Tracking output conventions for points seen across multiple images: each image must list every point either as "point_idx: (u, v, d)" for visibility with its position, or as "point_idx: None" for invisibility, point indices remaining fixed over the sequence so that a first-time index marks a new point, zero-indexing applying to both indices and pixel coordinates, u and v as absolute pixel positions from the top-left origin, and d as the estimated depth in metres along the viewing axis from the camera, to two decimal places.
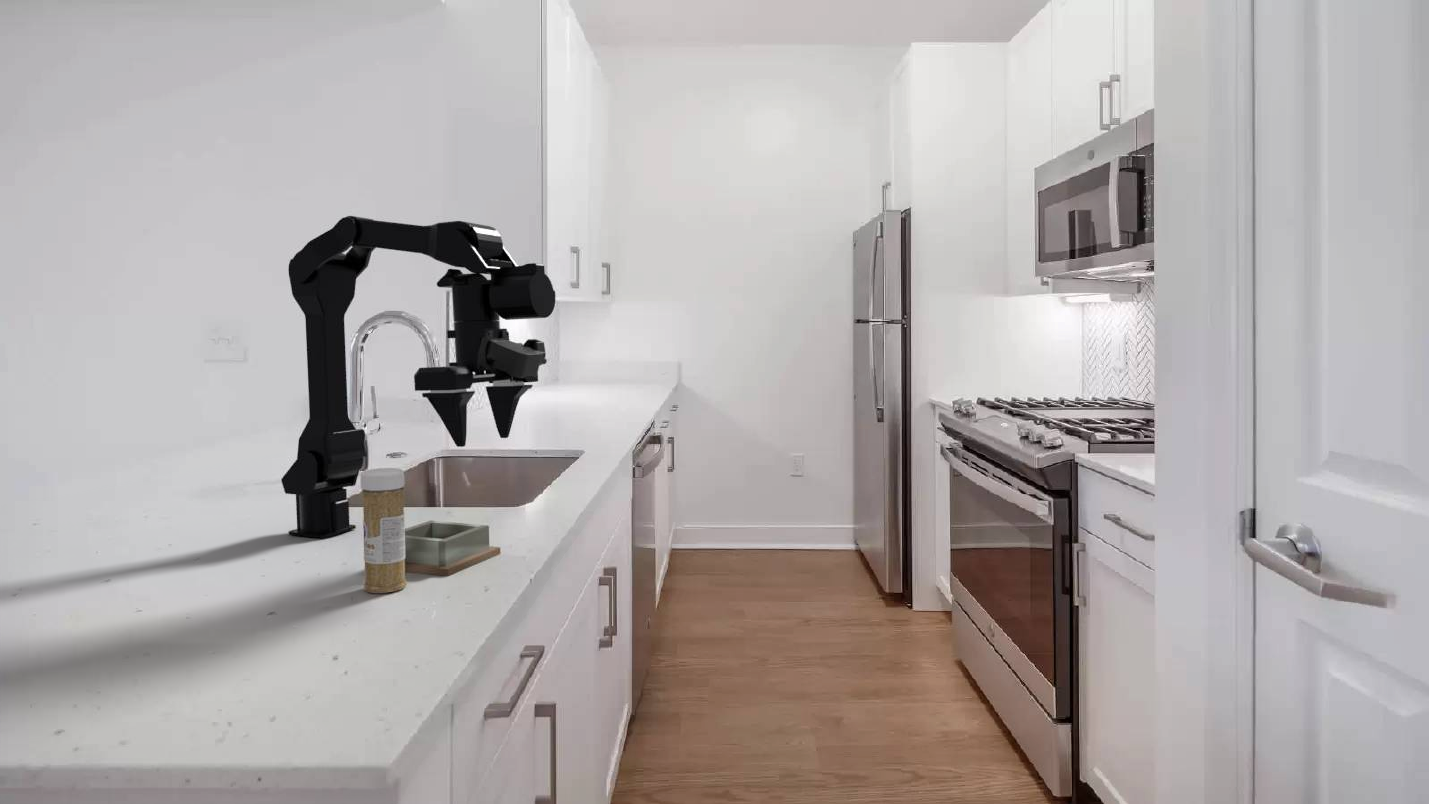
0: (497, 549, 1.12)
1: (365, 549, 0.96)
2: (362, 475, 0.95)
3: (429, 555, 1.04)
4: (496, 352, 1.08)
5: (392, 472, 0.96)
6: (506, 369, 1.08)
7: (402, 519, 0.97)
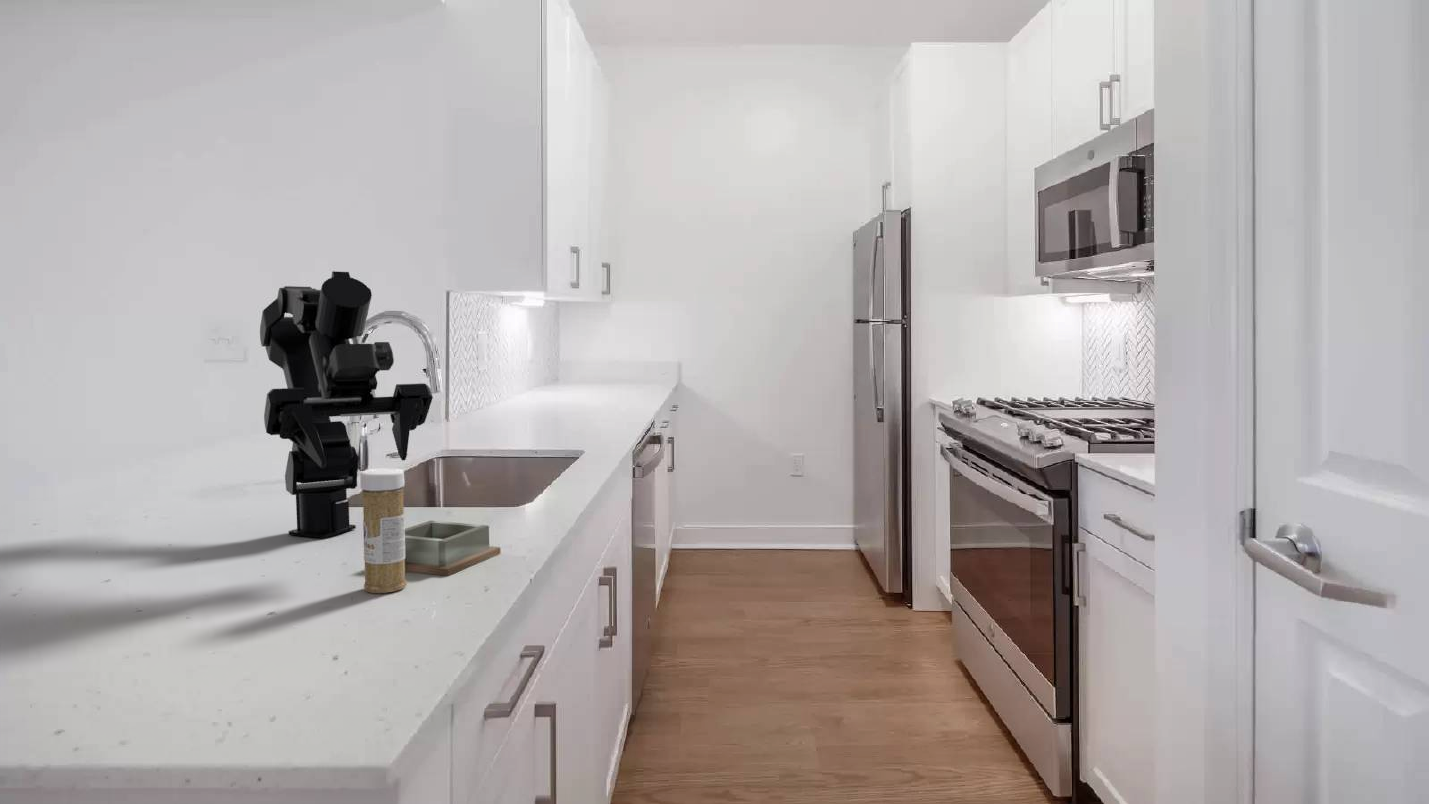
0: (497, 549, 1.12)
1: (365, 549, 0.96)
2: (362, 475, 0.95)
3: (429, 555, 1.04)
4: (330, 364, 1.05)
5: (392, 472, 0.96)
6: (335, 370, 1.03)
7: (402, 519, 0.97)
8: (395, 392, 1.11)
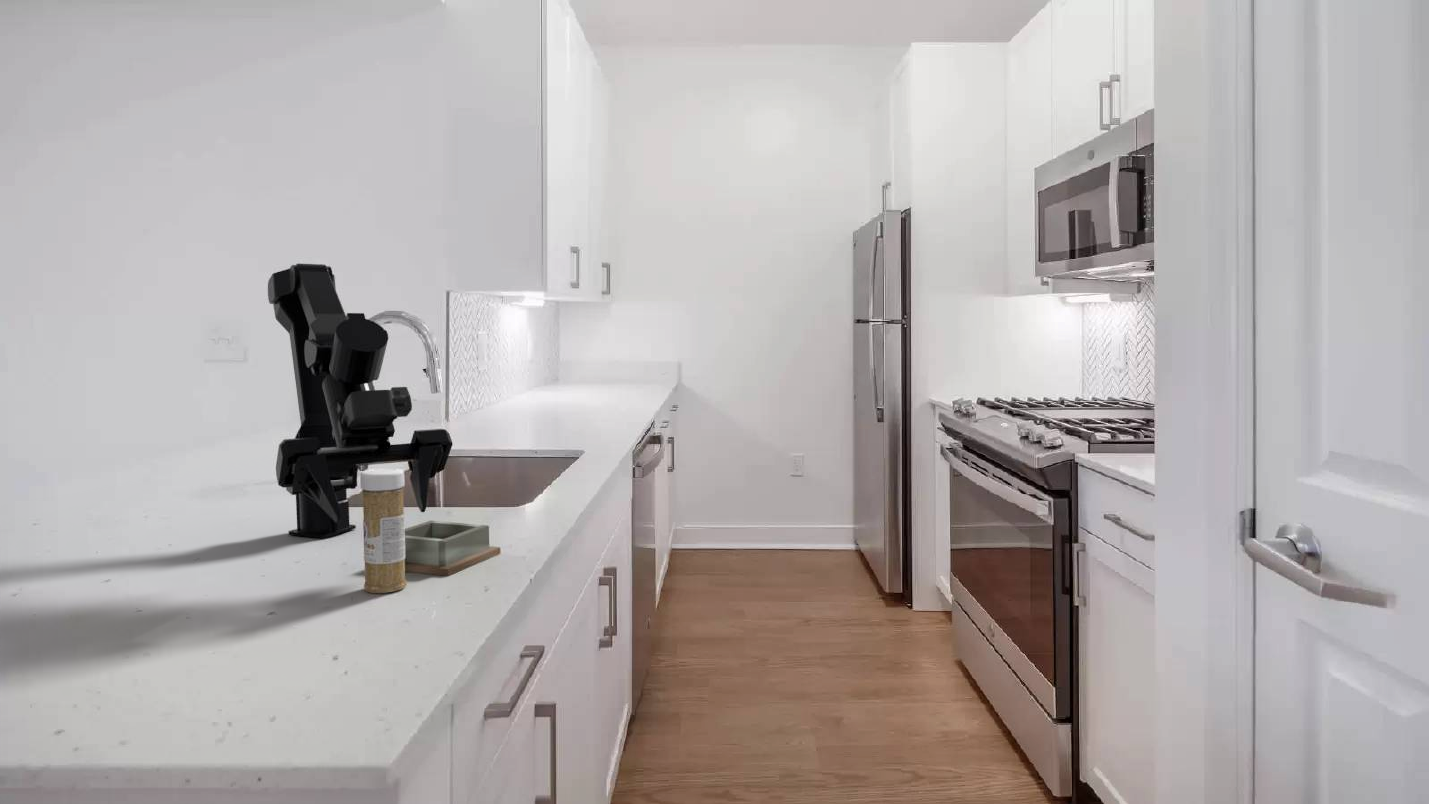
0: (497, 549, 1.12)
1: (365, 549, 0.96)
2: (362, 475, 0.95)
3: (429, 555, 1.04)
4: (345, 412, 0.99)
5: (392, 472, 0.96)
6: (350, 418, 0.97)
7: (402, 519, 0.97)
8: (413, 438, 1.05)
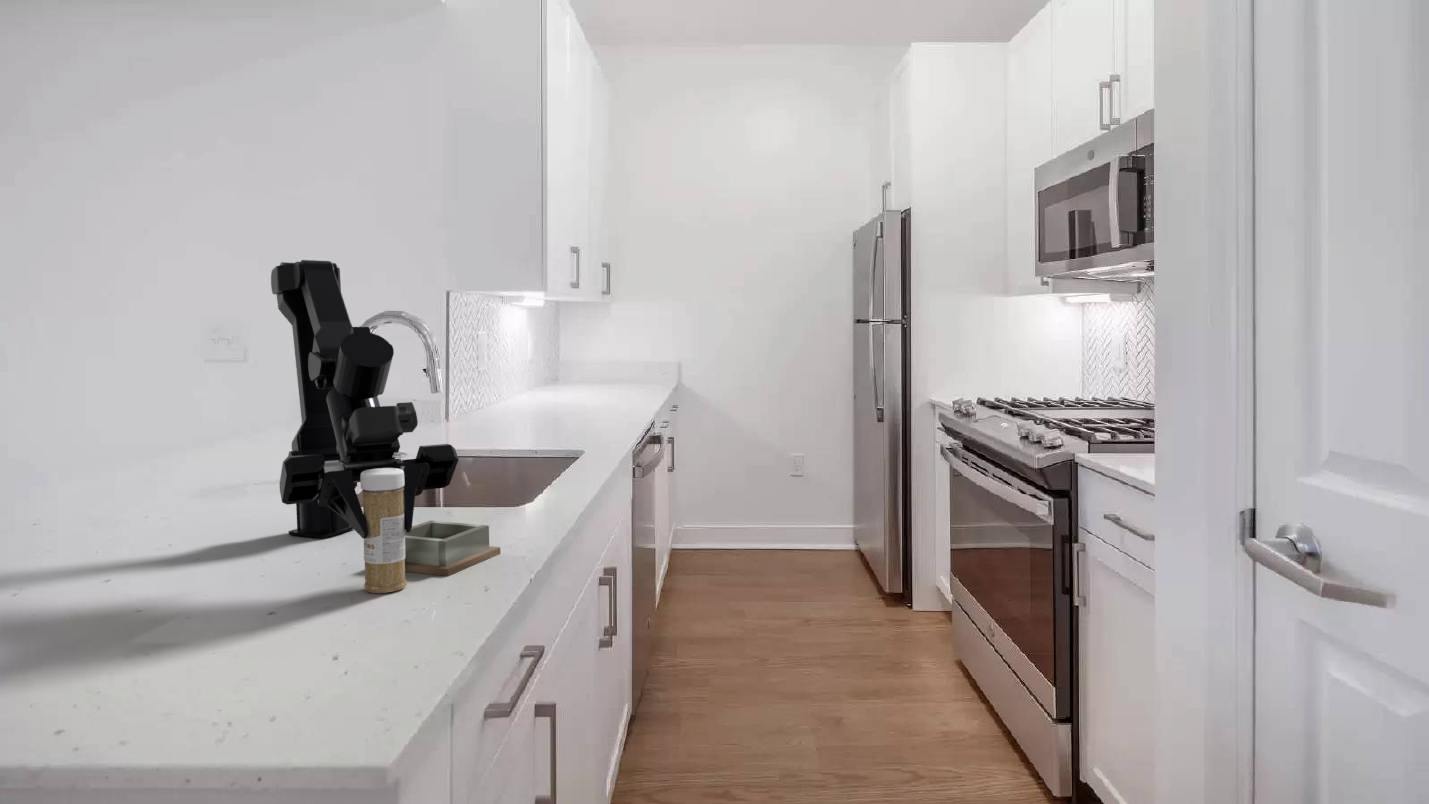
0: (497, 549, 1.12)
1: (365, 549, 0.96)
2: (362, 475, 0.95)
3: (429, 555, 1.04)
4: (349, 428, 0.98)
5: (392, 472, 0.96)
6: (355, 435, 0.96)
7: (402, 519, 0.97)
8: (418, 454, 1.03)
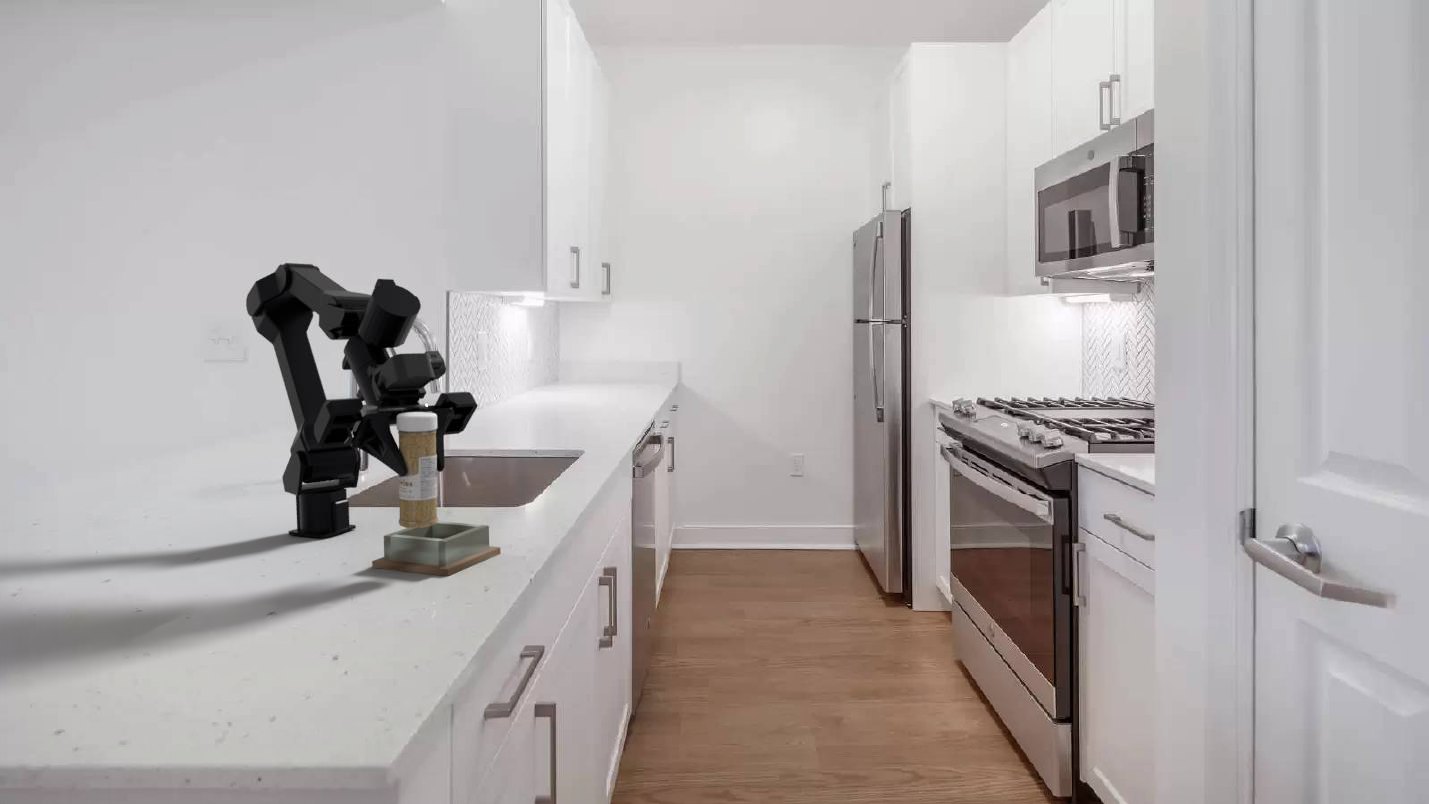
0: (497, 549, 1.12)
1: (402, 487, 1.02)
2: (400, 417, 1.01)
3: (429, 555, 1.04)
4: (382, 374, 1.03)
5: (428, 414, 1.02)
6: (392, 380, 1.02)
7: (436, 459, 1.04)
8: (439, 400, 1.10)
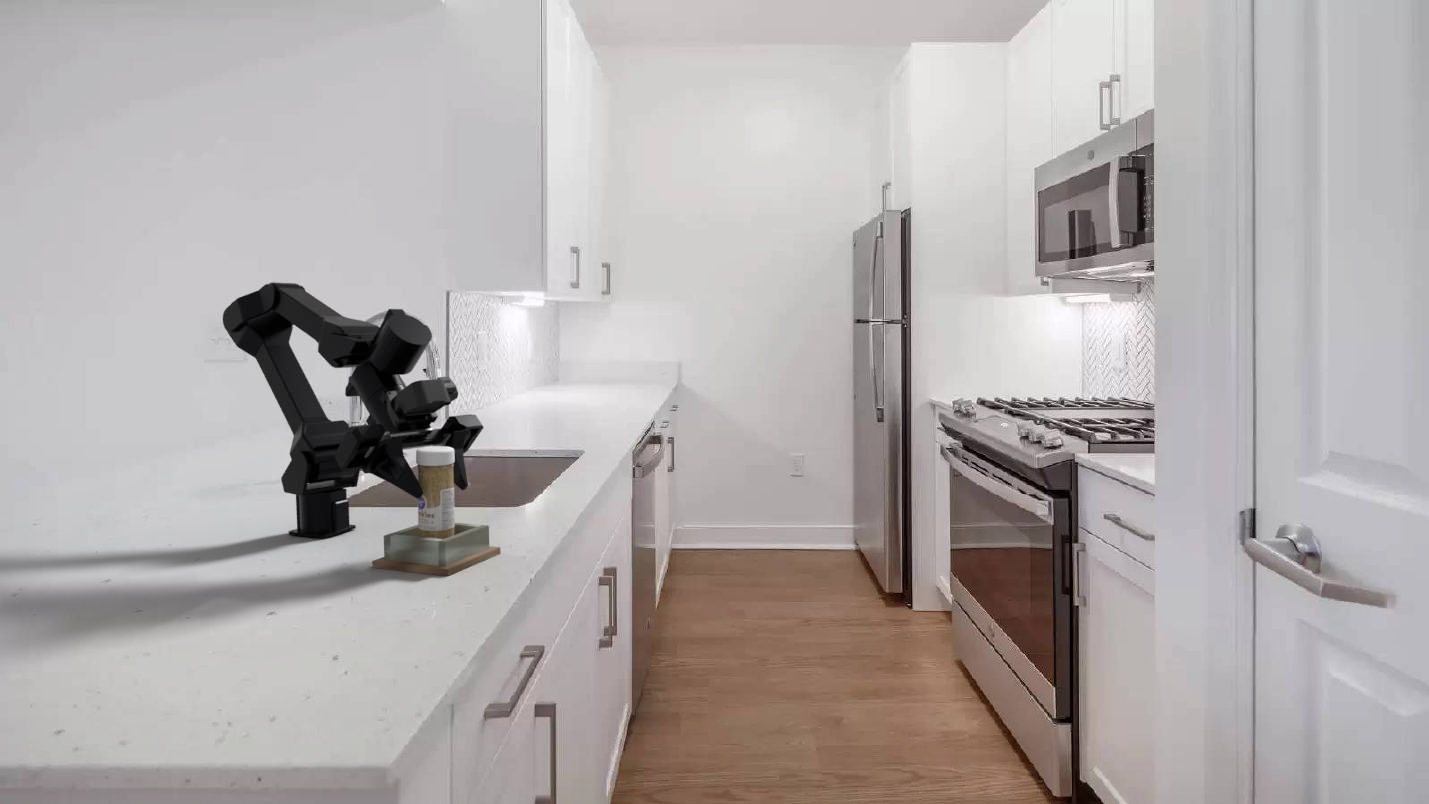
0: (497, 549, 1.12)
1: (423, 519, 1.07)
2: (422, 453, 1.06)
3: (429, 555, 1.04)
4: (399, 400, 1.08)
5: (448, 449, 1.08)
6: (412, 406, 1.07)
7: None
8: (447, 423, 1.15)
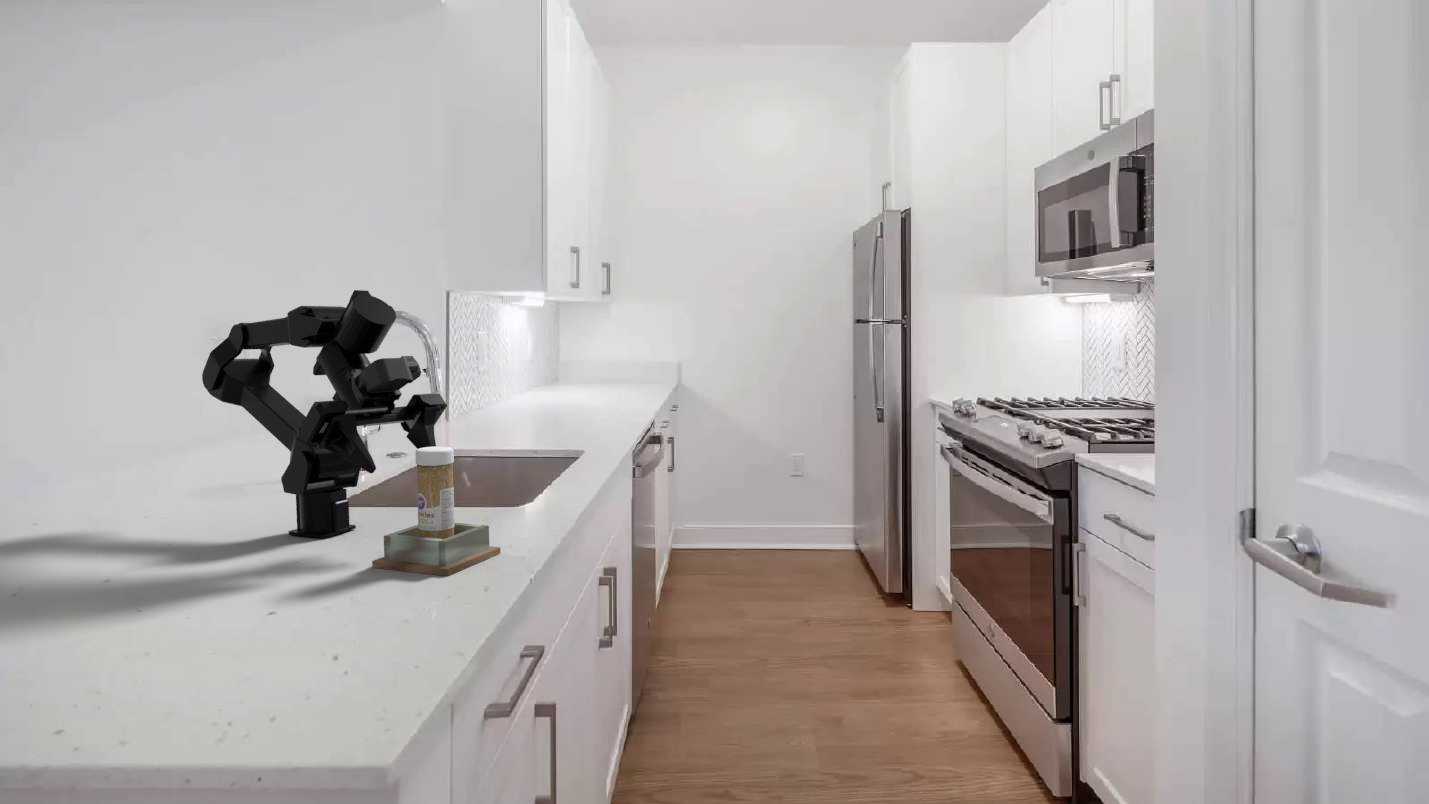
0: (497, 549, 1.12)
1: (423, 519, 1.07)
2: (421, 452, 1.07)
3: (429, 555, 1.04)
4: (363, 377, 1.12)
5: (447, 449, 1.08)
6: (374, 383, 1.11)
7: (453, 490, 1.09)
8: (411, 402, 1.20)
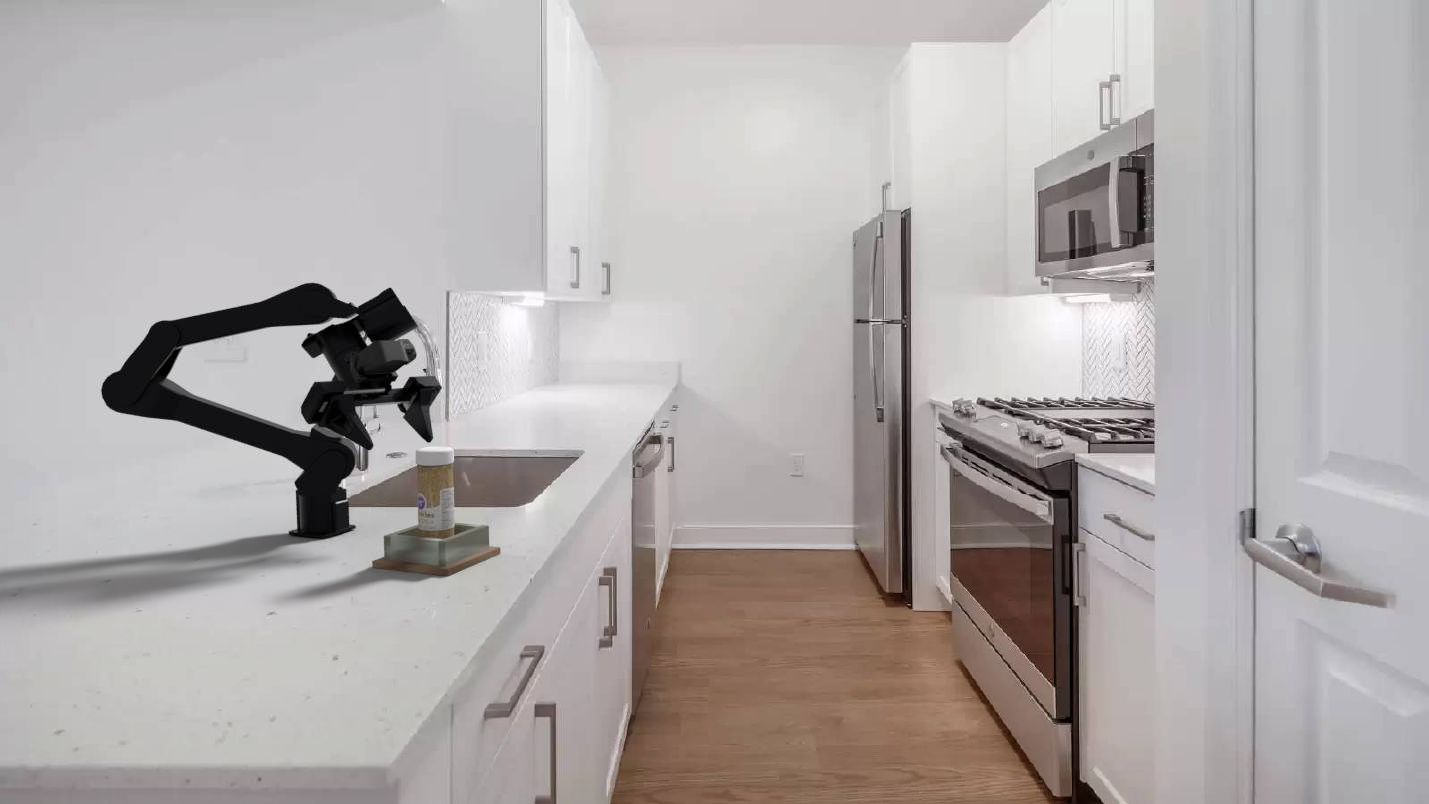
0: (497, 549, 1.12)
1: (423, 519, 1.07)
2: (421, 452, 1.07)
3: (429, 555, 1.04)
4: (361, 359, 1.17)
5: (447, 449, 1.08)
6: (372, 364, 1.16)
7: (453, 490, 1.10)
8: (407, 383, 1.24)
